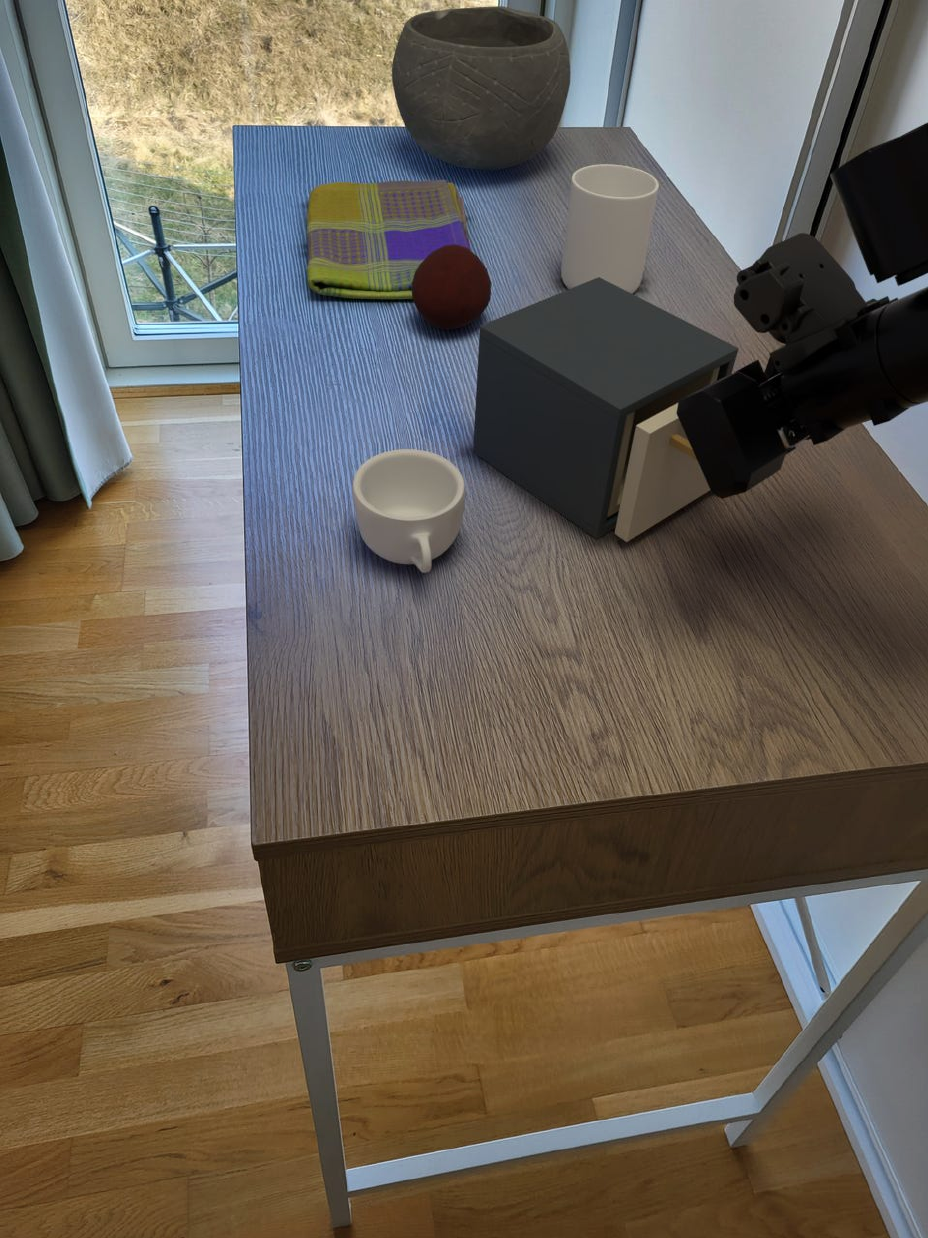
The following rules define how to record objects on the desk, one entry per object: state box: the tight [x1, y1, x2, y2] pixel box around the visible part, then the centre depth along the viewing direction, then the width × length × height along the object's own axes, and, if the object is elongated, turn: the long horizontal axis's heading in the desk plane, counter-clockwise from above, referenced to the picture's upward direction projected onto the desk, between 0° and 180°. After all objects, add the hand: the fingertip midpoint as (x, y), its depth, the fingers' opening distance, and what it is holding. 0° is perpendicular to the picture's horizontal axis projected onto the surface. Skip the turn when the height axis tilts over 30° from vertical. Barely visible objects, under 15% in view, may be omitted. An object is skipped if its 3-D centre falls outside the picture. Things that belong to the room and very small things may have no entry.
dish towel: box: [306, 179, 471, 300], centre depth 100 cm, size 18×24×3 cm
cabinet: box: [472, 277, 739, 540], centre depth 72 cm, size 14×13×11 cm
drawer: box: [607, 367, 720, 543], centre depth 69 cm, size 17×11×9 cm, turn 41°
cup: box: [560, 163, 660, 294], centre depth 95 cm, size 8×12×10 cm
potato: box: [411, 244, 492, 330], centre depth 88 cm, size 7×8×7 cm
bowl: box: [391, 5, 572, 171], centre depth 114 cm, size 21×21×15 cm
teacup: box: [351, 448, 466, 574], centre depth 65 cm, size 10×8×5 cm
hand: (704, 430), depth 65 cm, fingers closed
